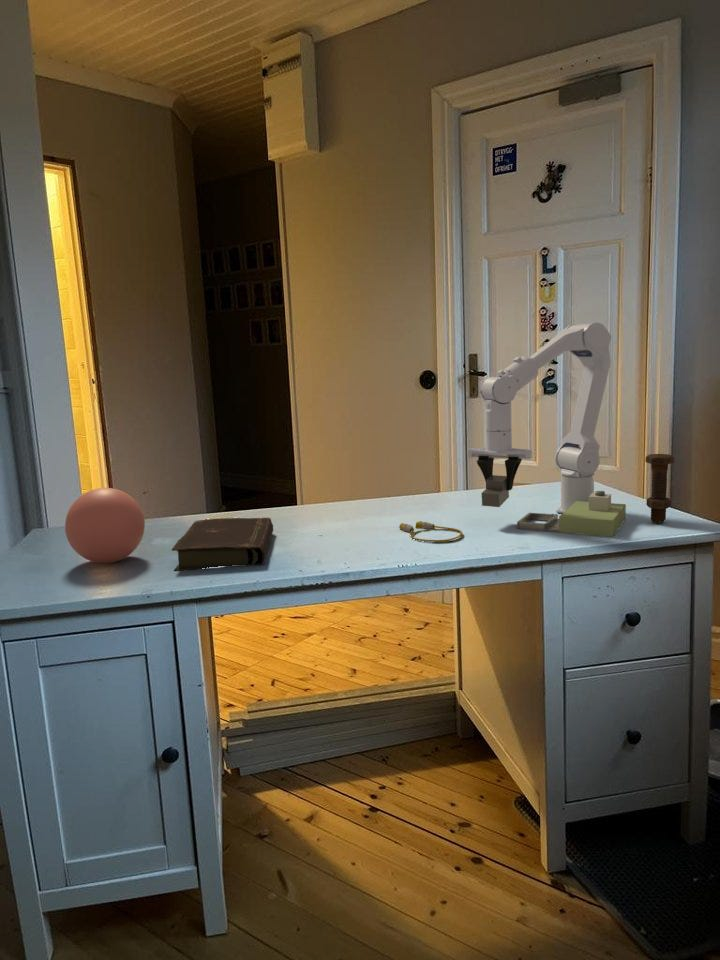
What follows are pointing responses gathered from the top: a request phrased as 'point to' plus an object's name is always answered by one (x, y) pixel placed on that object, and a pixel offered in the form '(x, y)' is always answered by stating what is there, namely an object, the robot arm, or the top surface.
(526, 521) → the grey rectangular frame
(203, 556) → the diary
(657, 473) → the bolt
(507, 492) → the stepped block
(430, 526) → the extension cord
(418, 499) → the top surface
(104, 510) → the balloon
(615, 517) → the deck
